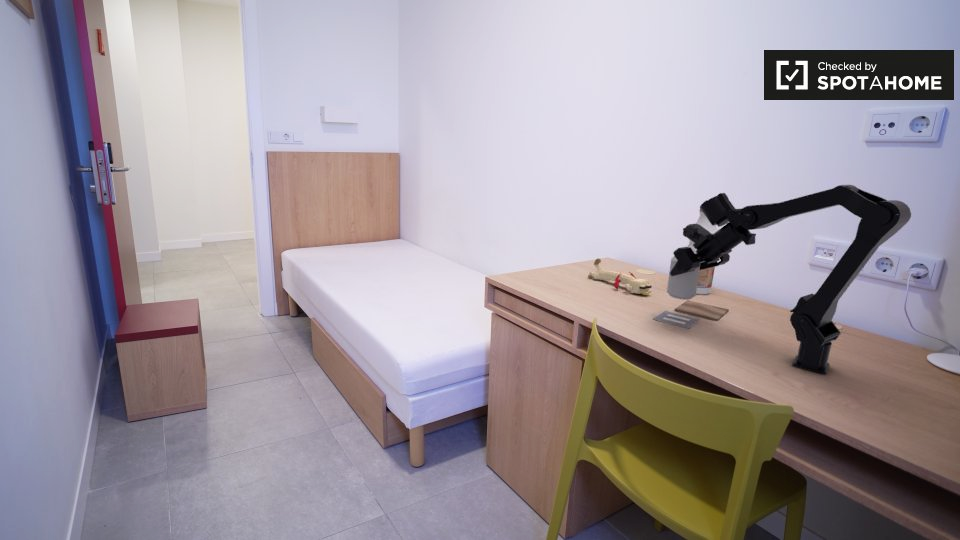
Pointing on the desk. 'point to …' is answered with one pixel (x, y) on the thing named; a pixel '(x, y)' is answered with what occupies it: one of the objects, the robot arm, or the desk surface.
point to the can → (682, 283)
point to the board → (701, 310)
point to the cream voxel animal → (621, 280)
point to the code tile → (676, 319)
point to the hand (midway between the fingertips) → (679, 272)
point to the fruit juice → (707, 274)
